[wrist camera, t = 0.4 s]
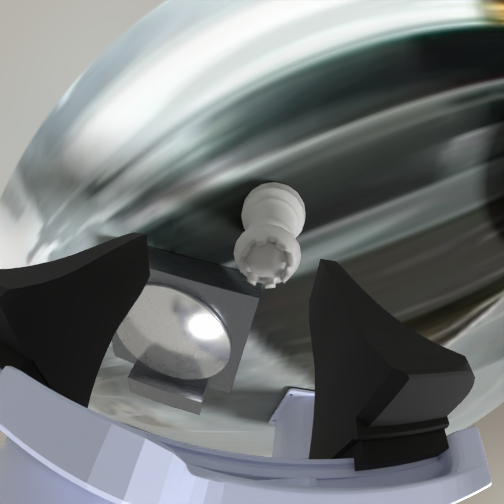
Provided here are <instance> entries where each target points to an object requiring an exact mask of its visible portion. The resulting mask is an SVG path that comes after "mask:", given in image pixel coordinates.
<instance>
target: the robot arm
mask: <svg viewBox="0 0 504 504" xmlns="http://www.w3.org/2000/svg"><path fill="white" fill-rule="evenodd" d="M149 277H150V269H149V259H148V248H147V236H146V234H141V233H130V234H126V235H123V236H120V237H118V238H115V239H112V240H110V241H107V242H105V243H102V244H100V245H97V246H95V247H92V248H90V249H87V250H84V251H82V252H79V253H77V254H74V255H71V256H68V257H65V258H61V259H58V260H55V261H51V262H46V263H42V264H37V265H33V266H27V267H21V268H13V269H0V430H1V431H2V432H4V433H5V434H6V435H7V436H8V437H7V439H6V441H5V443H4V445H3V446H2V448H1V450H0V504H455V503H457V502H460V501H462V500H464V499H466V498H468V497H470V496H472V495H474V494H476V493H478V492H480V491H482V490H483V489H485V488H487V487H489V486H490V485H491V484H492V481H491V476H490V472H489V467H488V463H487V458H486V455H485V451H484V447H483V444H482V440H481V437H480V433H479V430H478V427H477V426H473V427H470V428H467V429H463V430H460V431H456V432H454V433H452V434H450V435H448V436H446V434H445V430H444V429H445V428H447V427H448V426H449V421H448V418H447V415H448V414H449V413H450V412H452V411H453V410H454V409H455V408H456V407H457V406H458V405H459V404H460V403H461V402H462V401H463V400H464V398H465V397H466V396H467V395H468V394H469V392H470V390H471V389H472V387H473V384H474V380H475V377H474V374H473V372H472V370H471V368H470V365H469V363H468V361H467V359H466V357H465V356H463V355H461V354H458V353H456V352H454V351H451V350H449V349H447V348H445V347H442V346H440V345H438V344H436V343H434V342H432V341H431V340H429V339H427V338H425V337H423V336H422V335H420V334H418V333H417V332H415V331H413V330H412V329H410V328H409V327H407V326H406V325H404V324H403V323H401V322H400V321H399V320H397V319H396V318H395V317H393V316H392V315H391V314H389V313H388V312H387V311H386V310H384V309H383V308H382V307H381V306H380V305H379V304H377V303H376V302H375V301H374V300H373V299H372V298H371V297H370V296H369V295H368V294H367V293H366V292H365V291H364V290H363V289H362V288H361V287H360V286H359V285H358V284H357V283H356V282H355V281H354V280H353V279H352V278H351V277H350V276H349V275H348V273H347V272H346V271H345V270H344V269H343V268H342V267H341V266H340V265H339V264H338V263H337V262H336V261H331V260H324V259H320V263H319V267H318V271H317V275H316V278H315V282H314V286H313V290H312V293H311V297H310V303H309V322H310V331H311V339H312V347H313V356H314V365H315V391H308V390H301V389H295V388H291V389H289V390H288V391H287V393H286V395H285V396H284V398H283V400H282V401H281V403H280V404H279V406H278V408H277V409H276V411H275V412H274V414H273V415H272V417H271V418H270V420H269V424H270V425H275V435H274V445H273V455H272V457H262V456H253V455H245V454H238V453H232V452H226V451H220V450H215V449H209V448H205V447H200V446H196V445H191V444H187V443H183V442H179V441H175V440H172V439H168V438H165V437H161V436H158V435H155V434H152V433H148V432H145V431H142V430H139V429H137V428H134V427H131V426H128V425H126V424H123V423H120V422H118V421H115V420H113V419H111V418H108V417H106V416H103V415H101V414H99V413H96V412H94V411H92V410H90V409H88V404H89V400H90V396H91V392H92V389H93V386H94V382H95V379H96V376H97V373H98V370H99V368H100V365H101V363H102V360H103V358H104V355H105V353H106V351H107V349H108V347H109V344H110V342H111V340H112V338H113V336H114V334H115V333H116V331H117V329H118V328H119V326H120V325H121V323H122V321H123V320H124V318H125V317H126V315H127V314H128V312H129V311H130V310H131V308H132V307H133V305H134V304H135V302H136V301H137V299H138V298H139V296H140V295H141V293H142V291H143V289H144V287H145V285H146V283H147V281H148V279H149Z"/></svg>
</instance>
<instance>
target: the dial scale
mask: <svg viewBox="0 0 504 504" xmlns="http://www.w3.org/2000/svg"><path fill="white" fill-rule="evenodd" d="M147 248H148V259H149V269H150V277H149V279H148V281H147V283H146V285H145V287H144V289H143V291H142V293H141V295H140V296H139V298H138V299H137V301H136V302H135V304H134V305H133V307H132V308H131V310H130V311H129V312H128V314H127V315H126V317H125V318H124V320H123V321H122V323H121V325H120V326H119V328H118V329H117V331H116V333H115V334H114V336H113V338H112V343H113V348H114V352H115V356H117V357H119V358H122V359H124V360H127V361H129V362H132V363H134V364H135V365H134V367H133V368H132V370H131V372H130V374H129V376H128V381H129V385H130V389H131V392H133V393H136V394H138V395H141V396H144V397H146V398H149V399H152V400H154V401H157V402H160V403H163V404H166V405H169V406H172V407H175V408H178V409H181V410H185V411H188V412H191V413H195V414H198V415H200V412H201V408H202V405H203V402H204V398H205V395H206V391H207V388H211V389H214V390H218V391H222V392H226V393H230V391H231V388H232V385H233V382H234V379H235V376H236V372H237V369H238V366H239V363H240V360H241V357H242V353H243V350H244V347H245V344H246V340H247V337H248V334H249V331H250V327H251V324H252V321H253V318H254V314H255V311H256V308H257V304H258V301H259V297H260V291H261V285H262V283H259V282H257V283H256V285H255V286H254V285H252V284H251V283H249V282H247V281H246V280H247V277H246V276H245V275H244V274H243V273H240V270H236V269H232V268H228V267H224V266H221V265H217V264H213V263H209V262H205V261H202V260H198V259H194V258H190V257H187V256H183V255H179V254H175V253H172V252H168V251H164V250H161V249H157V248H153V247H150V246H147Z"/></svg>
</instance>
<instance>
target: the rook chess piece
mask: <svg viewBox="0 0 504 504" xmlns="http://www.w3.org/2000/svg"><path fill="white" fill-rule="evenodd" d="M241 217H242V222H243V226H244V229H245V231H244V232H243V233H242V235H241V236H240V237H239V239H238V240H237V241H236V245H235V250H234V257H235V261H236V265H237V266H238V268H239V269H240V273H243V274H244V275H245V276H246V277H247V280H246V281H247V282H249V283H251V284H252V285H254V286H255V285H256V283H257V282H259V283H263V284H265V289H266V288H275V284H276V283H280V282H283V283H285V282H286V281H287V280H288V279H289V278H290V277H291V276H292V274H293V273H294V272H295V271H296V270H297V269H298V266H299V263H300V260H301V252H300V245H299V244H298V242H297V241H296V239H295V238H296V237H297V236H298V235H299V233H300V232H301V231H302V228H303V225H304V222H305V208H304V202H303V201H302V199H301V198H300V196H299V194H298V193H297V192H296V191H295V190H293V189H292V188H290V187H289V186H288V185H284V184H280V183H276V182H272V183H266V184H261V185H260V186H258V187H256V188H255V189H253V190H251V192H250V193H249V195H248V196H247V197H246V199H245V200H244V204H243V209H242V214H241Z"/></svg>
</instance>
